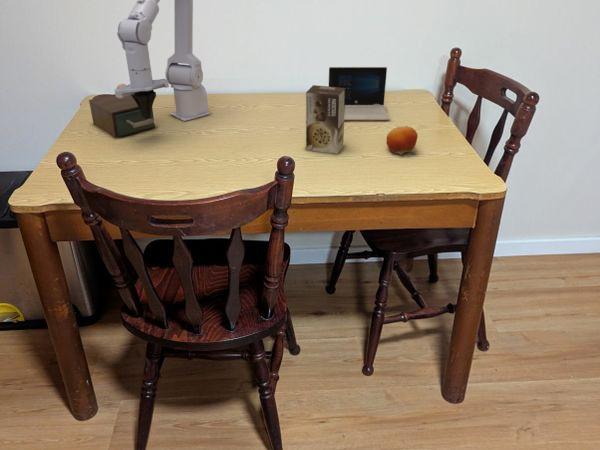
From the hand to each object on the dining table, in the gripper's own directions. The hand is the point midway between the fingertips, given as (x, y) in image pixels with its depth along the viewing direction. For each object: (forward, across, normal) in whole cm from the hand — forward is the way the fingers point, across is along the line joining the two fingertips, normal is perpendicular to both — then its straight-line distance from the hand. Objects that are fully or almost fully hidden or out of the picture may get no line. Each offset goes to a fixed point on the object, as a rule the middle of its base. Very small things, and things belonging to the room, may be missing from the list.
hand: (146, 118), depth 152 cm
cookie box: (+7, +33, -36) cm, 49 cm away
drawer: (+6, 0, +11) cm, 13 cm away
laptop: (+7, +59, -24) cm, 64 cm away
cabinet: (+7, 0, +15) cm, 17 cm away
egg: (+7, +9, +32) cm, 34 cm away
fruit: (+7, +47, -50) cm, 69 cm away
